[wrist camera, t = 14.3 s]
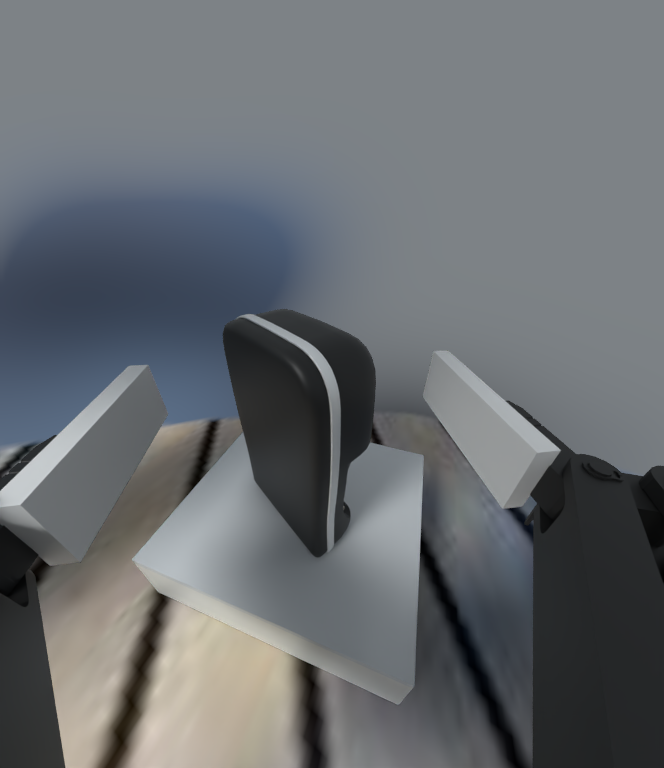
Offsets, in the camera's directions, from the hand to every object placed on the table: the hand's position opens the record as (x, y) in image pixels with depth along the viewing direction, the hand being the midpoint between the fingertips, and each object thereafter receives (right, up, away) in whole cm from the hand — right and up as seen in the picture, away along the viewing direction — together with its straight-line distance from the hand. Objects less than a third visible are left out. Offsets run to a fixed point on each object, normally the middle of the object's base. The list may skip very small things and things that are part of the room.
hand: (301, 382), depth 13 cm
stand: (0, -11, +6) cm, 12 cm away
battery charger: (0, -7, +4) cm, 8 cm away
